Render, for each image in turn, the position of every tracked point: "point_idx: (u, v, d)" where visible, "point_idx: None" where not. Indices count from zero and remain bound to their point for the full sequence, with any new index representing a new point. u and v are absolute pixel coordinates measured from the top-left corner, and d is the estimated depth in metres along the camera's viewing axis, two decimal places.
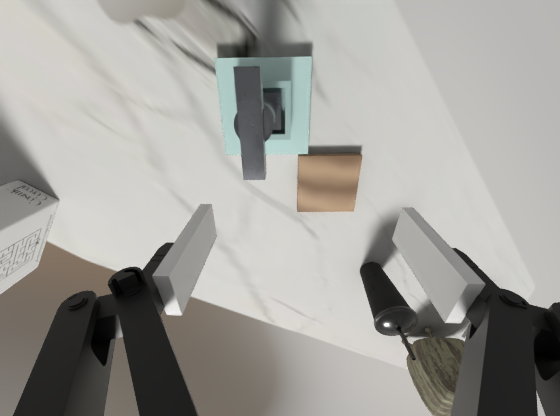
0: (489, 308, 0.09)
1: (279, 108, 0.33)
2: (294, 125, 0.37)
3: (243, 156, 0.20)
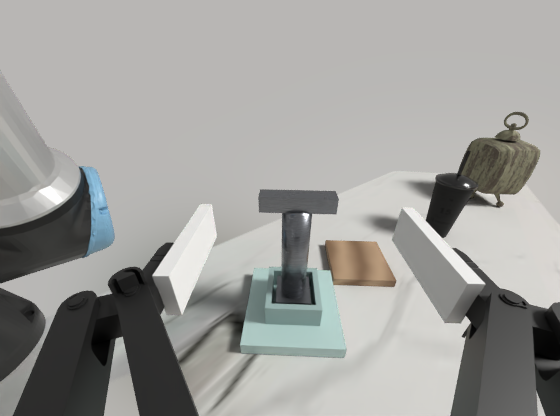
0: (489, 308, 0.09)
1: None
2: None
3: (318, 197, 0.26)
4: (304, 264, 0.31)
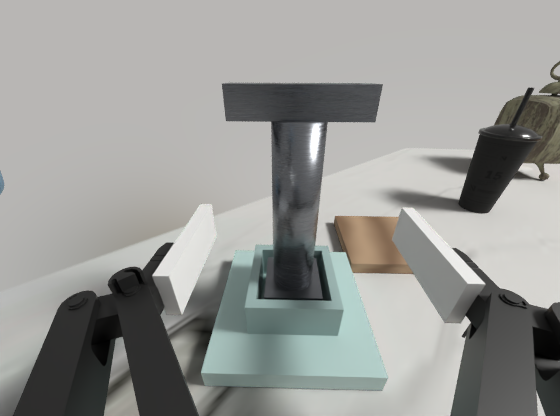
0: (489, 308, 0.09)
1: None
2: None
3: (342, 83, 0.13)
4: (312, 230, 0.18)
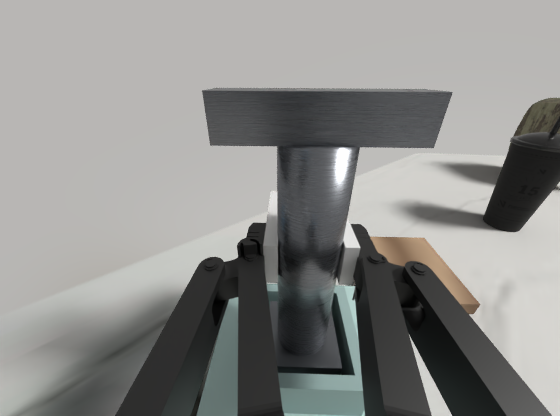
0: (364, 272, 0.11)
1: None
2: None
3: (388, 91, 0.08)
4: (331, 286, 0.13)
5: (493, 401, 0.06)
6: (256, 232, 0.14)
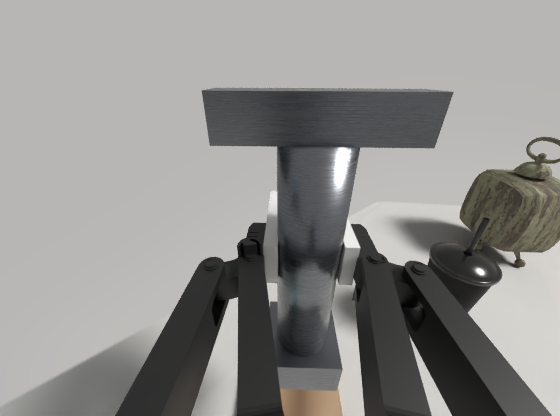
0: (364, 272, 0.11)
1: None
2: None
3: (389, 90, 0.08)
4: (331, 287, 0.13)
5: (492, 401, 0.06)
6: (256, 232, 0.14)
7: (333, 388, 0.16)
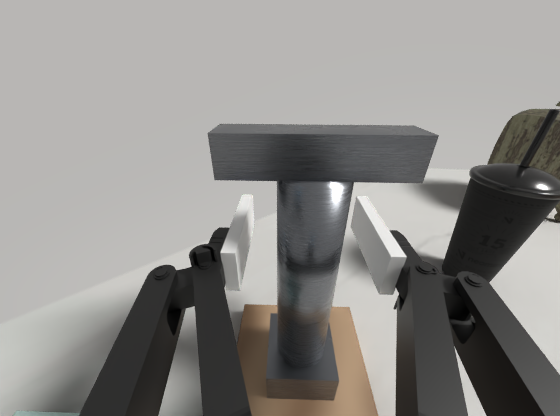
0: (410, 281, 0.10)
1: None
2: None
3: (379, 133, 0.09)
4: (328, 304, 0.14)
5: None
6: (220, 237, 0.14)
7: (331, 398, 0.17)
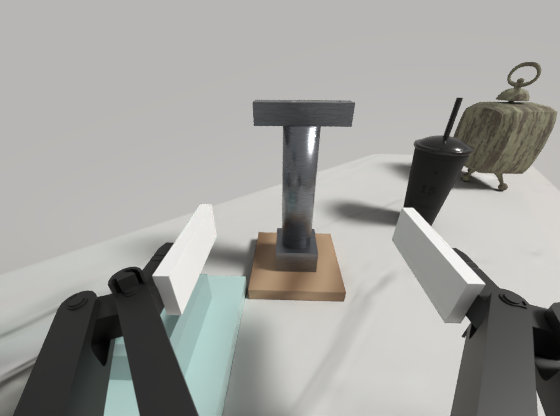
0: (489, 308, 0.09)
1: None
2: None
3: (329, 102, 0.20)
4: (310, 201, 0.25)
5: None
6: (164, 255, 0.12)
7: (314, 269, 0.28)
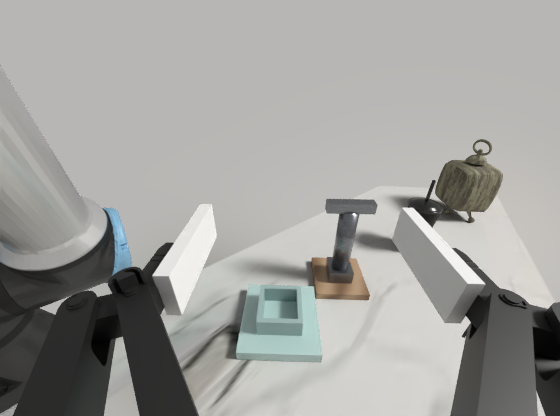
0: (489, 308, 0.09)
1: None
2: None
3: (365, 204, 0.42)
4: (351, 247, 0.47)
5: None
6: (164, 255, 0.12)
7: (350, 282, 0.50)
